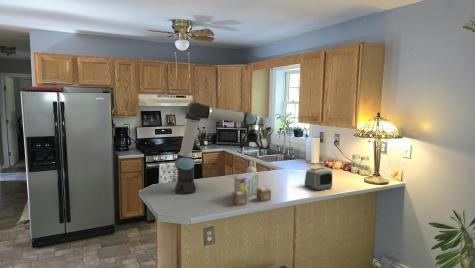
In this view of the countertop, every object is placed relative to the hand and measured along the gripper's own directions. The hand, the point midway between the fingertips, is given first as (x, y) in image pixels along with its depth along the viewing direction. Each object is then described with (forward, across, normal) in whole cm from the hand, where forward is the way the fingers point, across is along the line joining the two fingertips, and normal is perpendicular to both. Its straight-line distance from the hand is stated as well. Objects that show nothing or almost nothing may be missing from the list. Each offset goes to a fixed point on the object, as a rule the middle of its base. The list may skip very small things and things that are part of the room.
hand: (250, 155), depth 226 cm
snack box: (+29, 0, -9) cm, 30 cm away
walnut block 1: (+39, +2, +2) cm, 40 cm away
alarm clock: (+3, -52, -35) cm, 63 cm away
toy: (-3, +5, -41) cm, 41 cm away
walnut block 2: (+31, -12, -6) cm, 34 cm away
